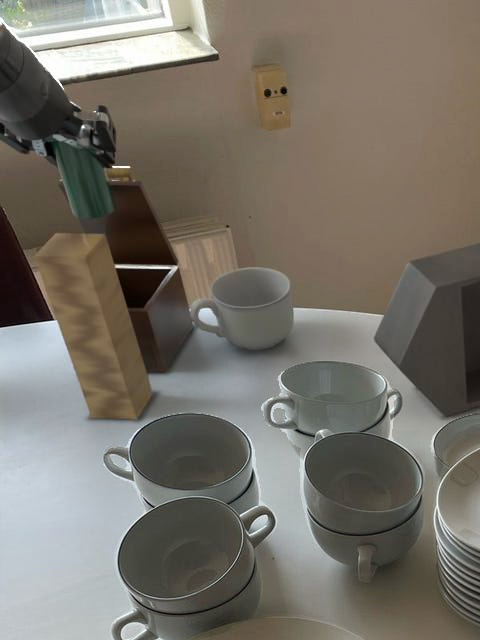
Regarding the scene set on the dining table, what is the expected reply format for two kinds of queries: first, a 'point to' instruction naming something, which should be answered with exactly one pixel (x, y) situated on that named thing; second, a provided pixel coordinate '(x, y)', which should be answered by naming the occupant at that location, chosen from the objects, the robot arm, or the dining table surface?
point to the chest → (156, 312)
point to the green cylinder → (84, 181)
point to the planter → (438, 328)
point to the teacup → (249, 307)
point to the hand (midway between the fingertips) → (86, 160)
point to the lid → (130, 223)
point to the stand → (95, 324)
